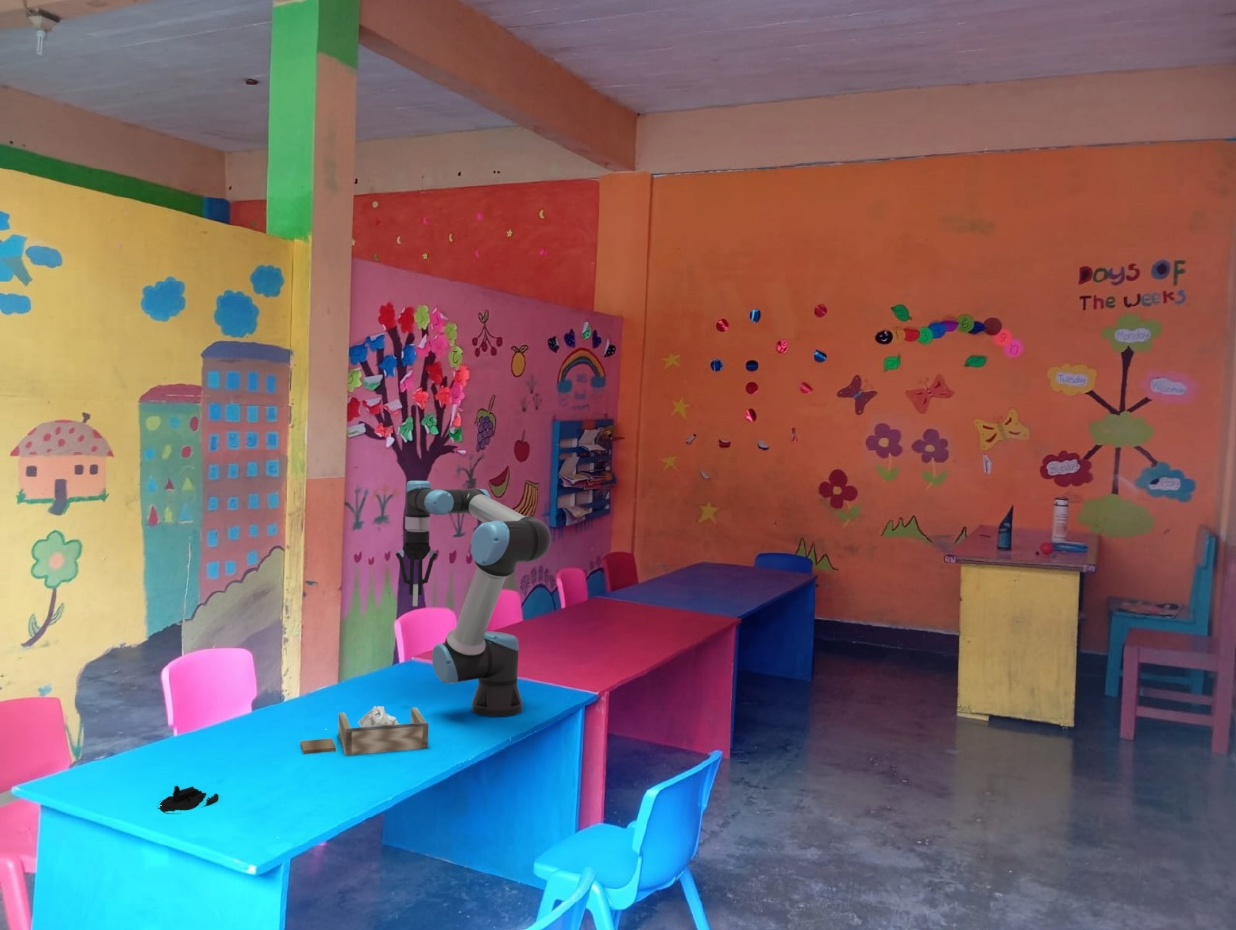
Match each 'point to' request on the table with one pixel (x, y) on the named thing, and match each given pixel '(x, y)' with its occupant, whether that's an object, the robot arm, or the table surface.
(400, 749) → the brown wooden box
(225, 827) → the table surface
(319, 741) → the lid plate
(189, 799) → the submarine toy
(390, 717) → the white rock
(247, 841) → the table surface
